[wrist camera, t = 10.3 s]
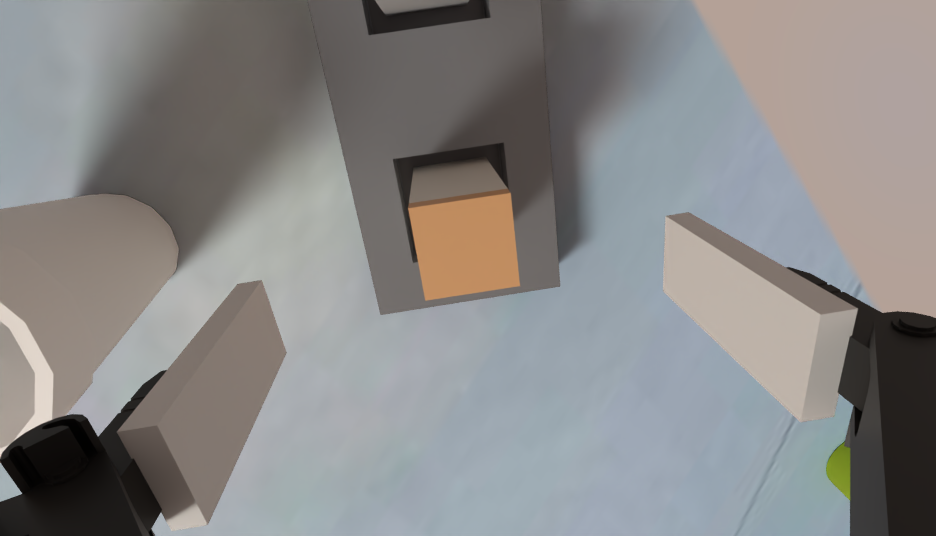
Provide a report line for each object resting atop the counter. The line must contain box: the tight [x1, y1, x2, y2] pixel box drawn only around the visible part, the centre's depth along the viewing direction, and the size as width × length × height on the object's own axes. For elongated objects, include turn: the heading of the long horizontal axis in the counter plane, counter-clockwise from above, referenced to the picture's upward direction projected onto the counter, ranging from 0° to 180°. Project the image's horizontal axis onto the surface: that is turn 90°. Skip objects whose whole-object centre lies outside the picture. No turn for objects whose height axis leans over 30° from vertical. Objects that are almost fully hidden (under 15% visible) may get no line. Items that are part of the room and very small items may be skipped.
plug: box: [408, 157, 520, 301], centre depth 24 cm, size 4×4×9 cm
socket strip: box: [307, 0, 560, 315], centre depth 26 cm, size 24×11×2 cm, turn 8°
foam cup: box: [0, 194, 179, 457], centre depth 23 cm, size 10×9×13 cm
